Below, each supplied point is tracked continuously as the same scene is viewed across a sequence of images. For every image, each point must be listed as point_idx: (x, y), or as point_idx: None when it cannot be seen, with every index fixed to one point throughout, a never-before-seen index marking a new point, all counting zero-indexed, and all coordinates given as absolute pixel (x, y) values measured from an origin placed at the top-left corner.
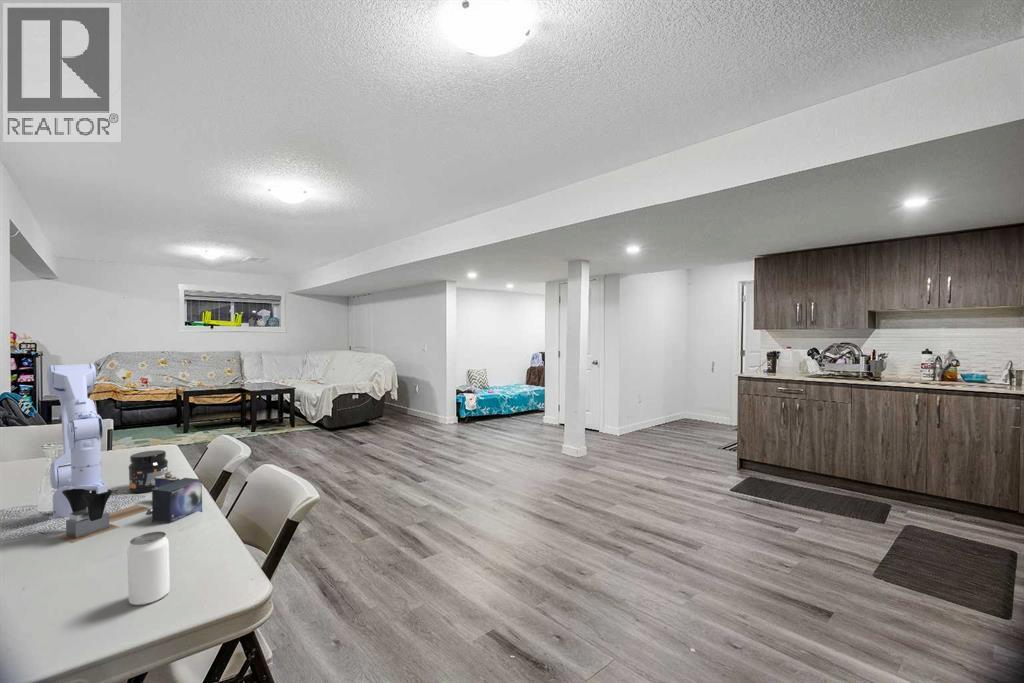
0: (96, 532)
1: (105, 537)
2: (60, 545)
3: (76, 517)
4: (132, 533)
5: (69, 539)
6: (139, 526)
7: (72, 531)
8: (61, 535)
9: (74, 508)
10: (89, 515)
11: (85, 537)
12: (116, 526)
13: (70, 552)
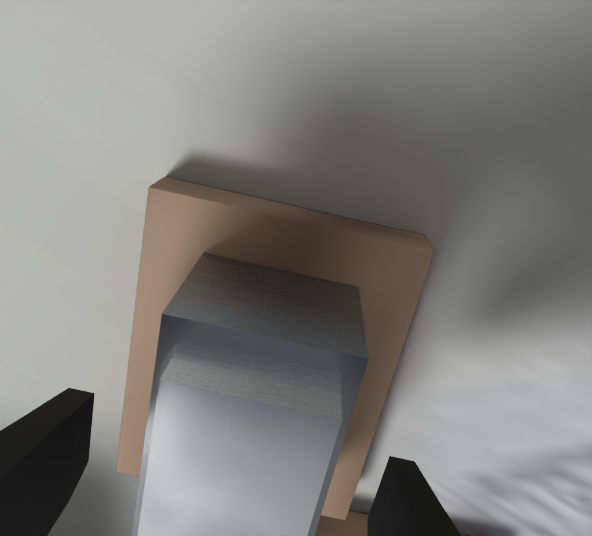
0: None
1: None
2: (335, 210)
3: (170, 367)
4: None
5: (248, 235)
6: (112, 525)
7: (246, 285)
8: (416, 288)
9: (407, 526)
10: (46, 419)
11: (158, 288)
12: None
13: (105, 124)
